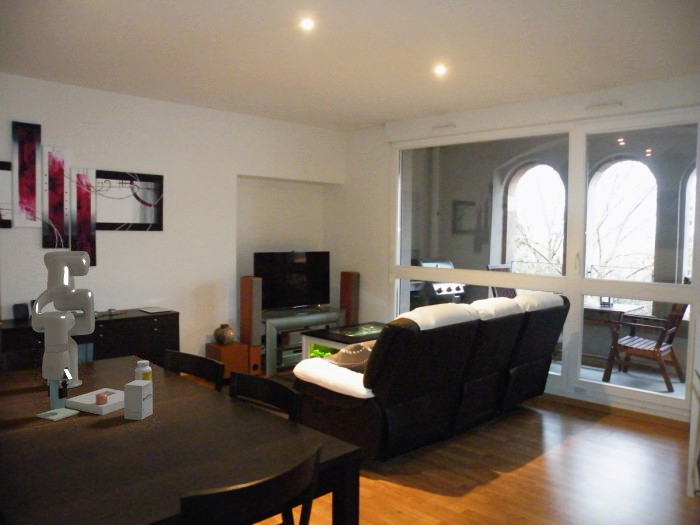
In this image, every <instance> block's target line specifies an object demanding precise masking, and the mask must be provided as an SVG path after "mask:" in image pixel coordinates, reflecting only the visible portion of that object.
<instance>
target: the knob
mask: <svg viewBox="0 0 700 525" xmlns="http://www.w3.org/2000/svg"><path fill="white" fill-rule="evenodd" d="M107 402H108V400H107V394H106V393H100V394H97V395H96V404H105V403H107Z"/></svg>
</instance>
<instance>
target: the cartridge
mask: <svg viewBox="0 0 700 525" xmlns="http://www.w3.org/2000/svg"><path fill="white" fill-rule="evenodd" d="M64 378H65V377H63V379H64ZM63 382H64V380H63V381H62V383H63ZM58 388H60V387H59V382H58V381H55V380H50V397H49V407H50V409H51V410H54V409H61V408H66V400H67V399H66V398H62V399H59V398H58Z"/></svg>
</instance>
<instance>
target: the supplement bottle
mask: <svg viewBox="0 0 700 525" xmlns="http://www.w3.org/2000/svg"><path fill="white" fill-rule="evenodd" d="M136 363H137V364H136V365H137V367H136V368H135V369H134V380H146V381H152V382H153V376H152V375H153V374H152V371H153V370H152V367H151V366H149V365H150V361H149V360H147V359H146V360H145V359H144V360H138V361H136Z"/></svg>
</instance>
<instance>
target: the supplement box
mask: <svg viewBox="0 0 700 525" xmlns="http://www.w3.org/2000/svg"><path fill="white" fill-rule="evenodd" d="M153 390H154V389H153V380H152V381H146V380H135V379H134V380H133V381H130V382H128V383H125V384H124V385H123V391H124V410H123V411H124V414H123V416H124V420H125V419H126V420H137V421H143V420H144V419H146V418H148V417H149V416H152V415H153V410H154V406H153V405H154V402H153V401H154V399H153V398H154V396H153V392H154V391H153Z"/></svg>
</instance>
